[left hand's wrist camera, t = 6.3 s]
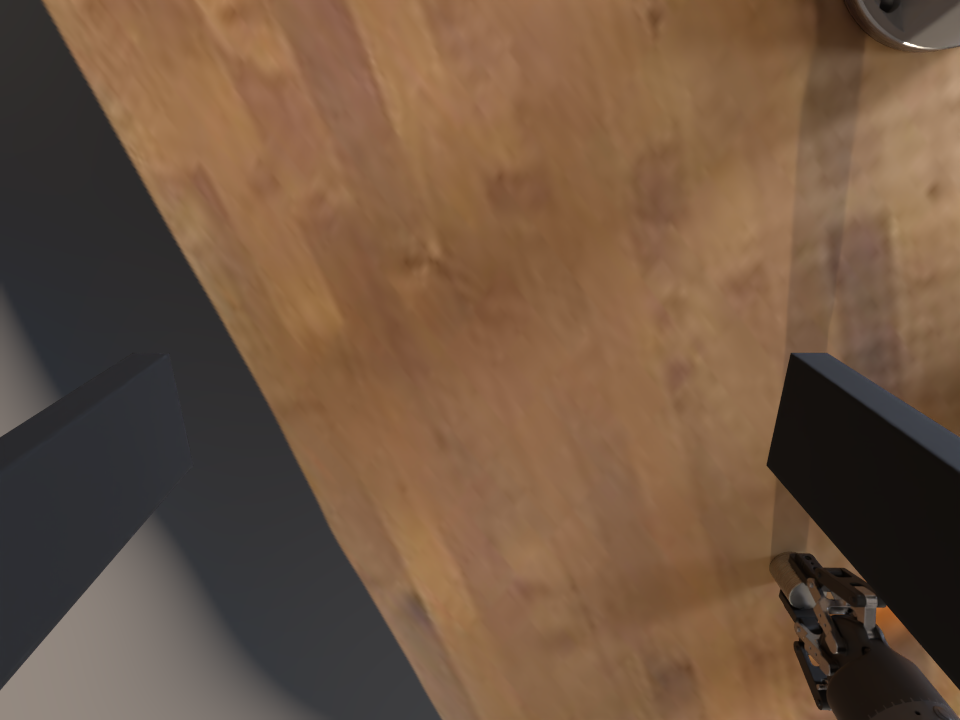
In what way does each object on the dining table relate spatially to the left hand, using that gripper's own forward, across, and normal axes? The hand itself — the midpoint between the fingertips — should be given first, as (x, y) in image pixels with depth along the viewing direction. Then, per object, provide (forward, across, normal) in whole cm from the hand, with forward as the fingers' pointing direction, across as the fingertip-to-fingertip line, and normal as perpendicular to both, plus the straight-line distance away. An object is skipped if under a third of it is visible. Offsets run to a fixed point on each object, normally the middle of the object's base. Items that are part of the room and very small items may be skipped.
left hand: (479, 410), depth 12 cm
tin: (+36, +32, -36) cm, 60 cm away
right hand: (+35, +32, -36) cm, 60 cm away
